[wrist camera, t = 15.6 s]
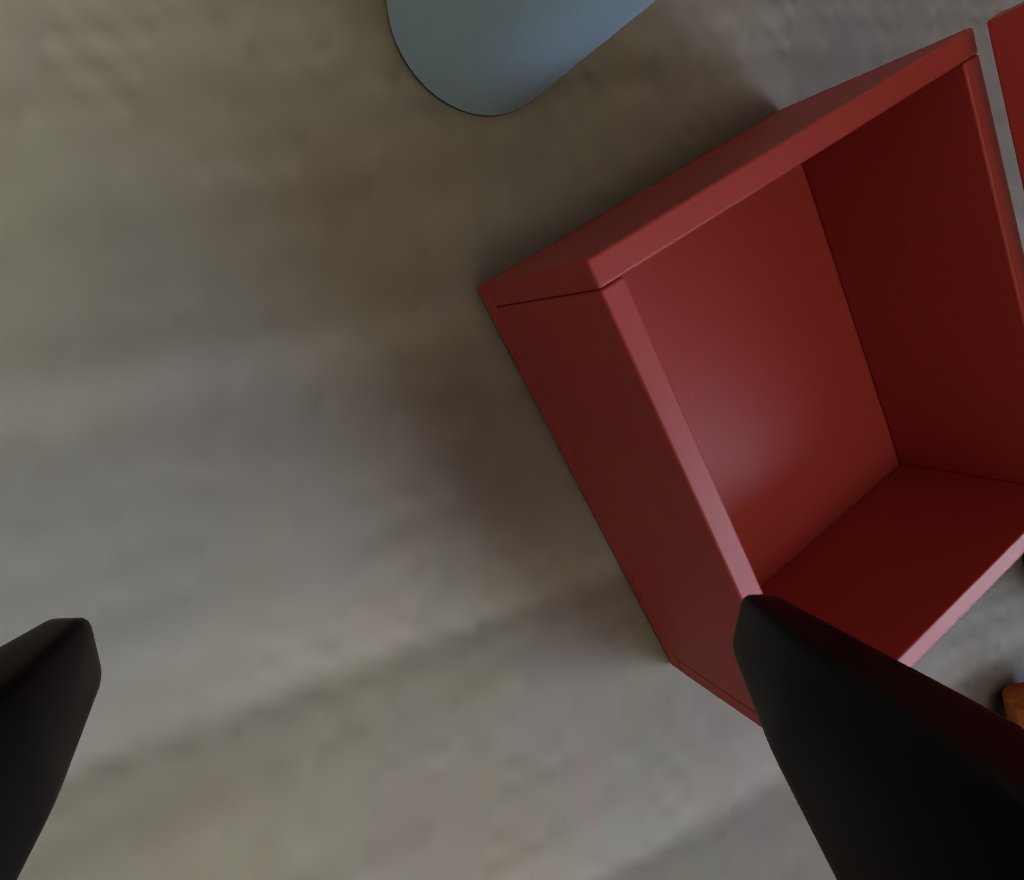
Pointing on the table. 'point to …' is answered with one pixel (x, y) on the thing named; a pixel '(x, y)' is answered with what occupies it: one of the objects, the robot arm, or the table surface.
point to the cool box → (798, 368)
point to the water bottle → (501, 45)
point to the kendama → (1014, 702)
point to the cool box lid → (1011, 71)
